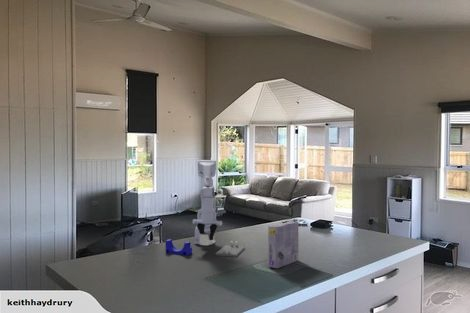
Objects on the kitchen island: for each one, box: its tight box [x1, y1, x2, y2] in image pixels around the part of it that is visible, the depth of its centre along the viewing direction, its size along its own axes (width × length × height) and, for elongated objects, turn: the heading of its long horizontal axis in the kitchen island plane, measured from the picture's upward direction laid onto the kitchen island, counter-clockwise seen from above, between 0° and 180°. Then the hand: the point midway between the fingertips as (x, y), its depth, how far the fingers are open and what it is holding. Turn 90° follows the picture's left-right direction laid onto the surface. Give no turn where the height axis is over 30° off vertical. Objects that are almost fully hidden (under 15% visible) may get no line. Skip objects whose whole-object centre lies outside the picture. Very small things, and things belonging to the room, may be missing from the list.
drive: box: [199, 231, 215, 246], centre depth 199 cm, size 4×9×5 cm, turn 164°
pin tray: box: [215, 240, 246, 258], centre depth 199 cm, size 10×16×4 cm, turn 164°
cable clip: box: [165, 238, 193, 257], centre depth 196 cm, size 12×4×6 cm, turn 65°
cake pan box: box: [267, 221, 299, 270], centre depth 180 cm, size 19×5×18 cm, turn 141°
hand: (207, 239), depth 199 cm, fingers closed on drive, 4 cm apart
